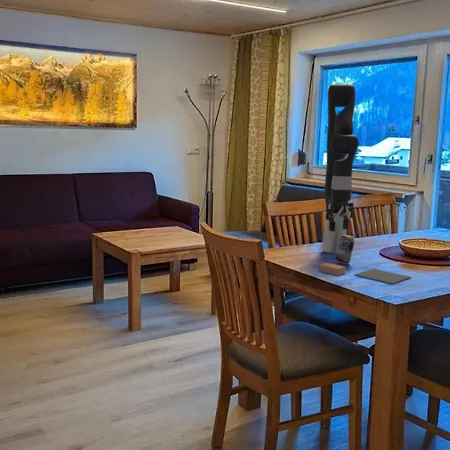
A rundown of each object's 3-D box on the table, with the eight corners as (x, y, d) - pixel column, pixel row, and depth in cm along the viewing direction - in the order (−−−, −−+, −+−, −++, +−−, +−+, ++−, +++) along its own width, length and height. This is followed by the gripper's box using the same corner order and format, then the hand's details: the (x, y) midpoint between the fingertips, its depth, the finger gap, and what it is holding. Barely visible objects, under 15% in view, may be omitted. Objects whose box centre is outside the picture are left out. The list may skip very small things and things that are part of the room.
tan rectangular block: (318, 271, 226) (319, 264, 226) (326, 269, 230) (326, 262, 229) (337, 276, 220) (337, 269, 220) (345, 274, 223) (345, 267, 223)
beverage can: (332, 262, 241) (334, 234, 239) (347, 261, 244) (349, 233, 242) (340, 265, 235) (342, 236, 233) (355, 264, 238) (357, 236, 236)
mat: (354, 275, 220) (354, 274, 220) (373, 269, 230) (373, 268, 230) (392, 284, 209) (392, 283, 209) (410, 278, 219) (410, 276, 219)
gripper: (344, 186, 225) (341, 227, 227) (321, 187, 215) (319, 230, 218) (360, 188, 220) (357, 230, 222) (338, 189, 210) (335, 233, 212)
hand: (338, 230), depth 220 cm, fingers open, 8 cm apart
